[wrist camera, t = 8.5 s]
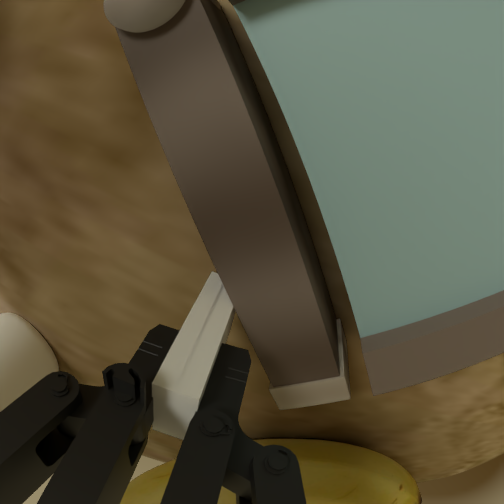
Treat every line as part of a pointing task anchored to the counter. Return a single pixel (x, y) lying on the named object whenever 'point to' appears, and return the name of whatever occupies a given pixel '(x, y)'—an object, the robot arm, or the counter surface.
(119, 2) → the folding leg
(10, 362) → the cup
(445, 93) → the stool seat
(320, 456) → the banana
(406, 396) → the counter surface
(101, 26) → the counter surface
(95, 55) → the counter surface
